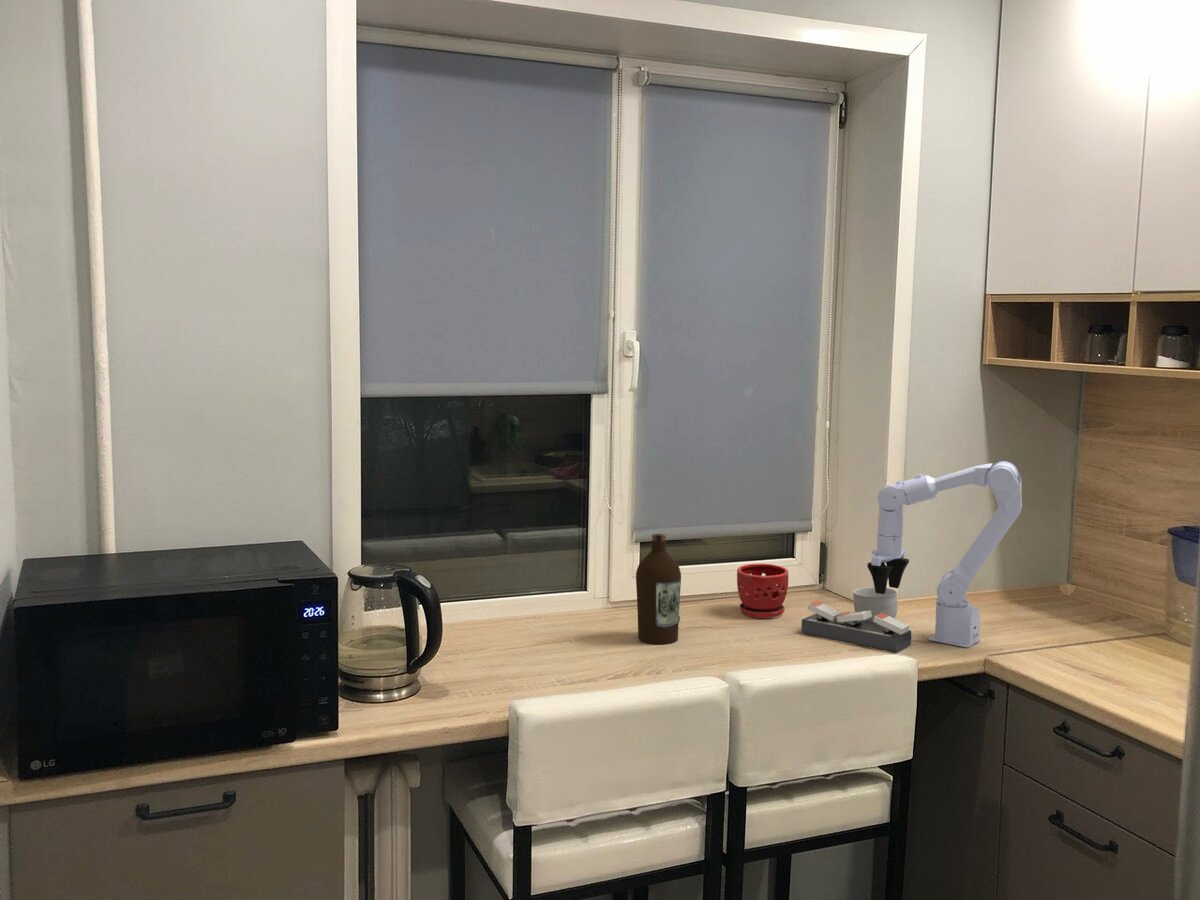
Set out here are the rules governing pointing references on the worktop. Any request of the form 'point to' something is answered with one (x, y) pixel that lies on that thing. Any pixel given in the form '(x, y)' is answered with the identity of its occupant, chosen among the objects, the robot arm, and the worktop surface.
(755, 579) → the plant pot
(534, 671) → the worktop surface
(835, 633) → the switch panel
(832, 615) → the rocker
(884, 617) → the block
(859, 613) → the block
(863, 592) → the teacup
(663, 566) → the olive oil
